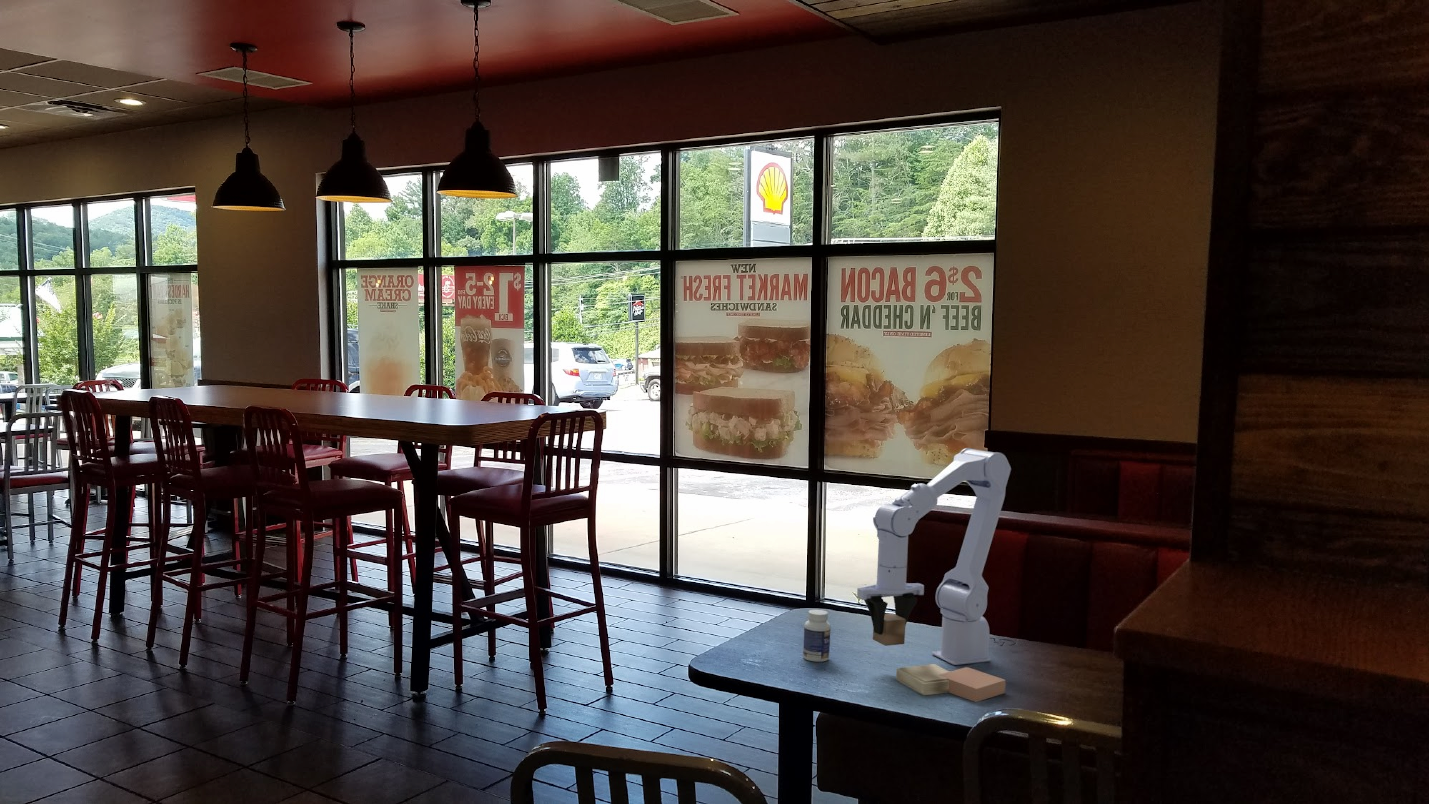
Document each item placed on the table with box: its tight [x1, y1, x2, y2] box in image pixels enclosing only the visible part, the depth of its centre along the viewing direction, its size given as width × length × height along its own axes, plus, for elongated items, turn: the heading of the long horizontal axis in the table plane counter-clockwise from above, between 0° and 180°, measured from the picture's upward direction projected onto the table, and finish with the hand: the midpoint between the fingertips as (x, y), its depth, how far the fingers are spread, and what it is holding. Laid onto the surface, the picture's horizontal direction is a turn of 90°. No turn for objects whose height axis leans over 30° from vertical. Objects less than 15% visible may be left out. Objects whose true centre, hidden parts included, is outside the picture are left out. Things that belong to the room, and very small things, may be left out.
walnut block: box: [872, 613, 907, 647], centre depth 202 cm, size 4×4×5 cm
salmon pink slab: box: [939, 666, 1007, 703], centre depth 193 cm, size 9×9×2 cm
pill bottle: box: [802, 609, 832, 663], centre depth 208 cm, size 5×5×10 cm
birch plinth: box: [895, 663, 953, 696], centre depth 195 cm, size 9×9×2 cm
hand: (889, 632), depth 202 cm, fingers closed on walnut block, 4 cm apart
